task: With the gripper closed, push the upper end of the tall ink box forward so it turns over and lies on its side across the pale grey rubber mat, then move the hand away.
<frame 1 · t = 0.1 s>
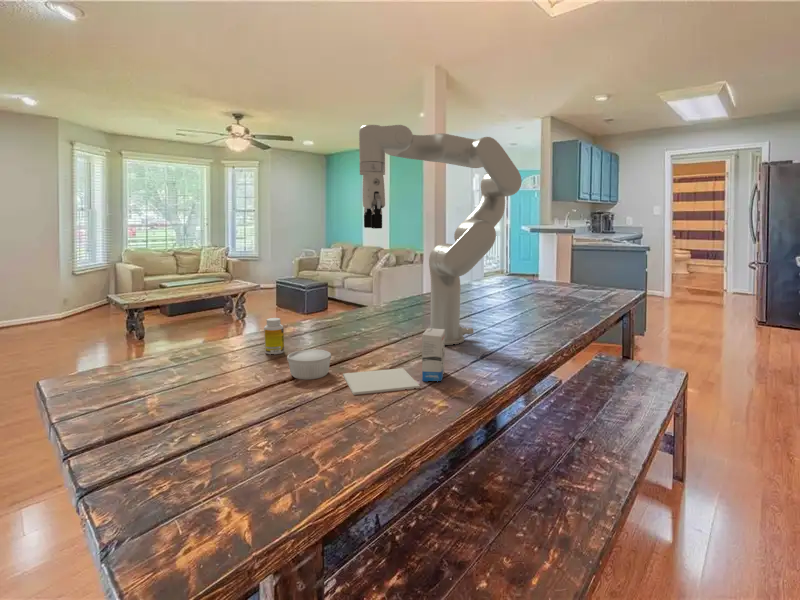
hand: (372, 228, 146), 37 cm above the table, tool pointing down, fingers open, 9 cm apart
rubber mat: (380, 381, 120), on the table
ink box: (433, 377, 123), on the table
ramekin: (309, 375, 126), on the table
supplement bottle: (274, 353, 145), on the table
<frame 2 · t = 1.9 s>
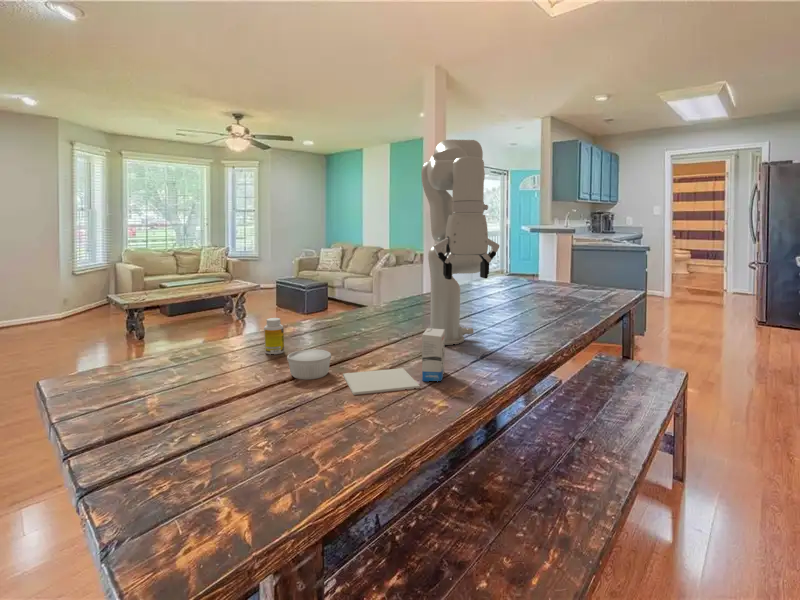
hand: (466, 278, 122), 25 cm above the table, tool pointing down, fingers open, 9 cm apart
nothing on the table moved.
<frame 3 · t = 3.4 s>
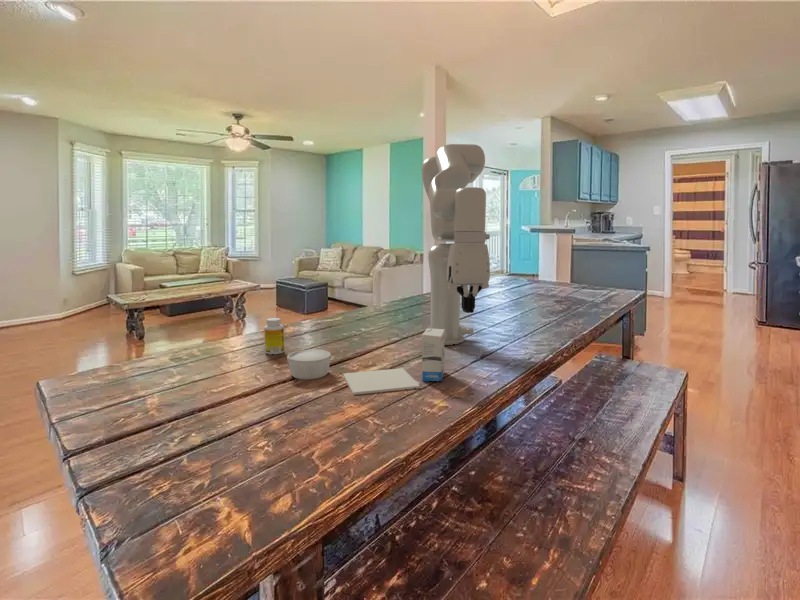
hand: (468, 311, 122), 16 cm above the table, tool pointing down, fingers closed
nothing on the table moved.
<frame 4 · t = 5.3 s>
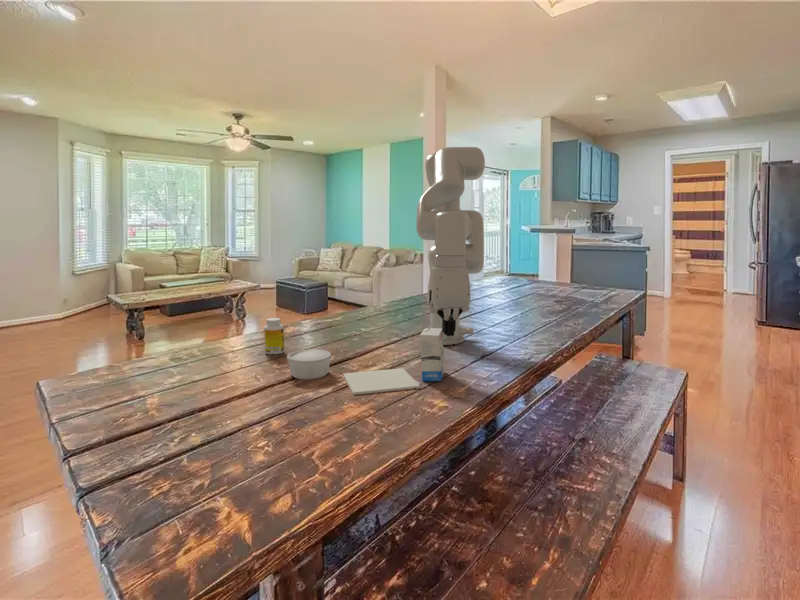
hand: (448, 334, 123), 11 cm above the table, tool pointing down, fingers closed
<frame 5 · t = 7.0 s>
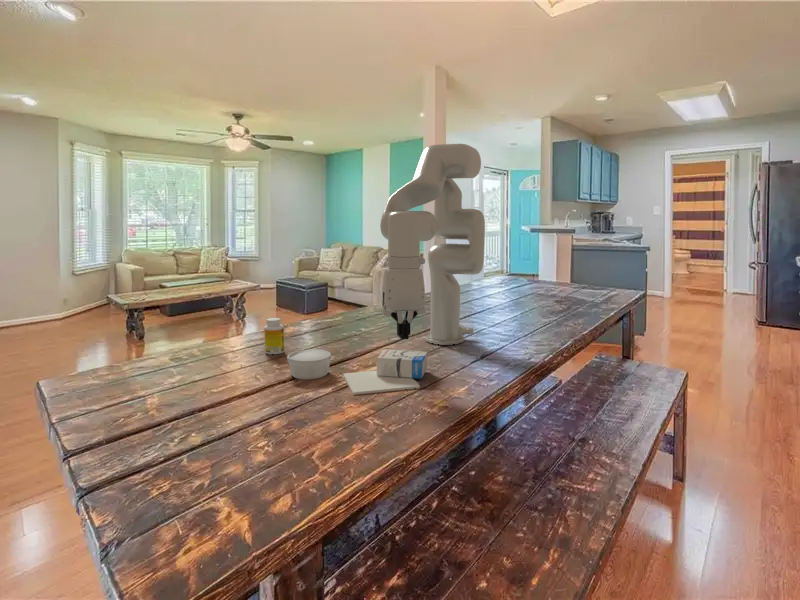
hand: (403, 337, 119), 11 cm above the table, tool pointing down, fingers closed
ink box: (425, 365, 123), point 3 cm above the table, touching rubber mat
everything else where it was.
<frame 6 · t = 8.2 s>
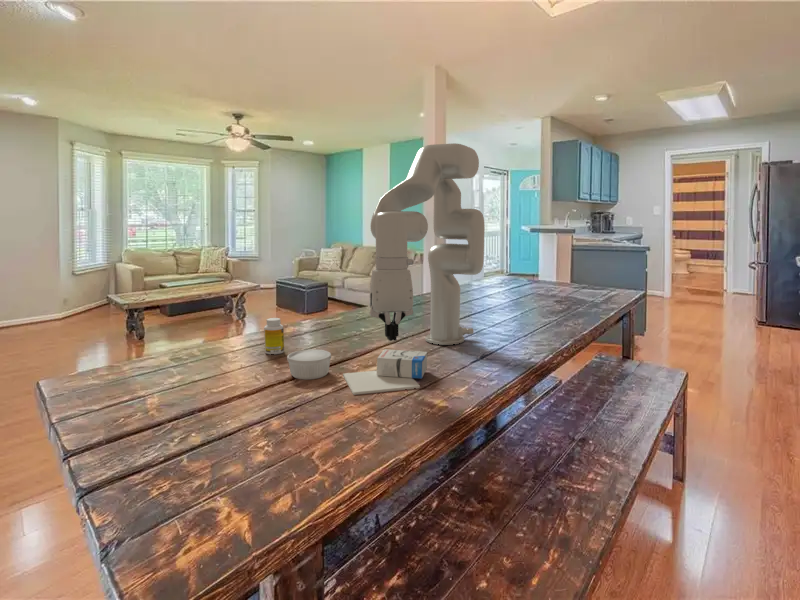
hand: (391, 339, 119), 11 cm above the table, tool pointing down, fingers closed
nothing on the table moved.
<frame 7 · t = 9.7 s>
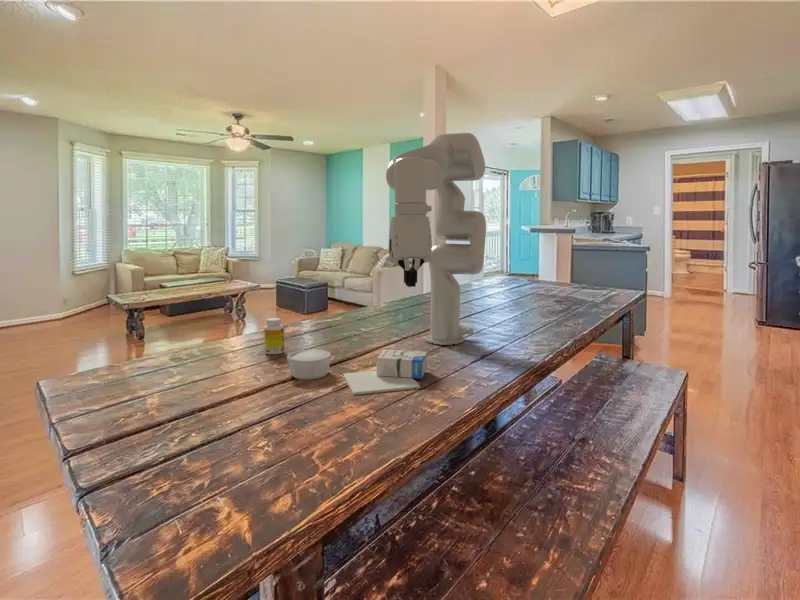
hand: (410, 285, 120), 23 cm above the table, tool pointing down, fingers closed
nothing on the table moved.
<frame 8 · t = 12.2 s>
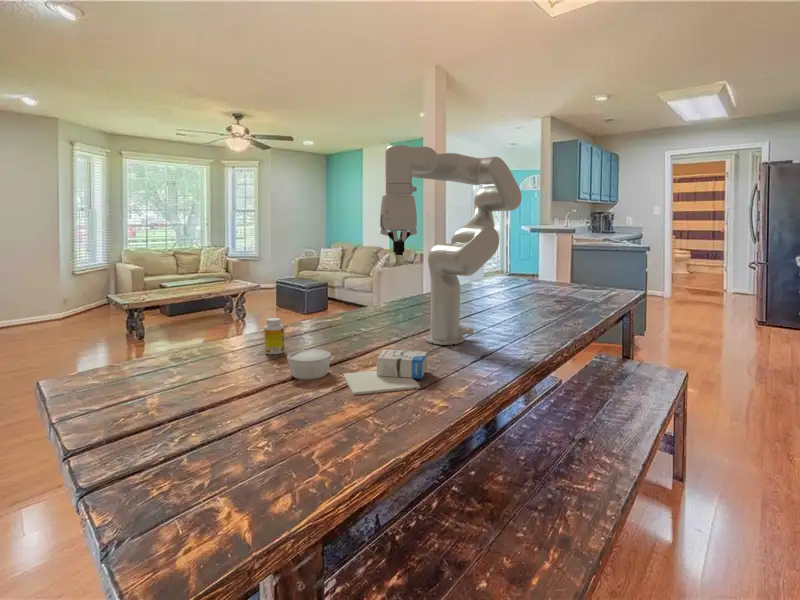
hand: (398, 254, 142), 29 cm above the table, tool pointing down, fingers closed
nothing on the table moved.
at the end: ink box tilted 89°; ink box touching rubber mat; ink box inside the target area (6.3 cm from its centre), point 3.0 cm above the table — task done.
